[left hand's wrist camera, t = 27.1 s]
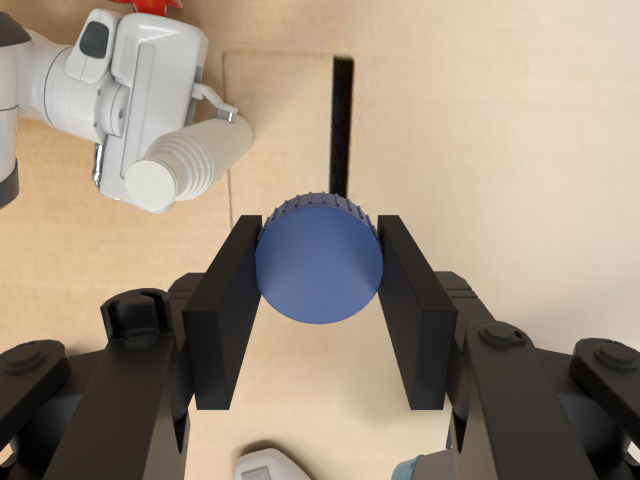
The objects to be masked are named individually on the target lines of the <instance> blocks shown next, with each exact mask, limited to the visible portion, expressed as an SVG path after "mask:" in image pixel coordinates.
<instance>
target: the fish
mask: <svg viewBox="0 0 640 480" xmlns="http://www.w3.org/2000/svg"><path fill="white" fill-rule="evenodd" d="M109 1H112V2H114V3H120V4H130V3H131V4H132V6H133V9H134V11H135V13H146V14H152V15H157V16H162V17H166V14H167V7H166V5H170V6H173V7H177V8H179V9H180V10H181V9H182V8H183V5H182V3H181V1H180V0H109Z"/></svg>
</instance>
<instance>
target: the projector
mask: <svg viewBox="0 0 640 480" xmlns="http://www.w3.org/2000/svg"><path fill="white" fill-rule="evenodd" d="M234 480H311V479H310V478H309V477H308V476H307V475H306V473H305V472H304V471H303V470H302V469H301V468H300V467H298V466H297V465H296V464H295V463H294V462H293V461H292V460H291V459H289V458H288V457H287V456H286V455H284V454H283V453H281V452H280V451H278V450H276V449H273V448H268V449H265V450H260V451H256V452H252V453H249V454H246V455H244V456H241V457H239V458H238V459H237V461H236V464H235V468H234Z"/></svg>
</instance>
